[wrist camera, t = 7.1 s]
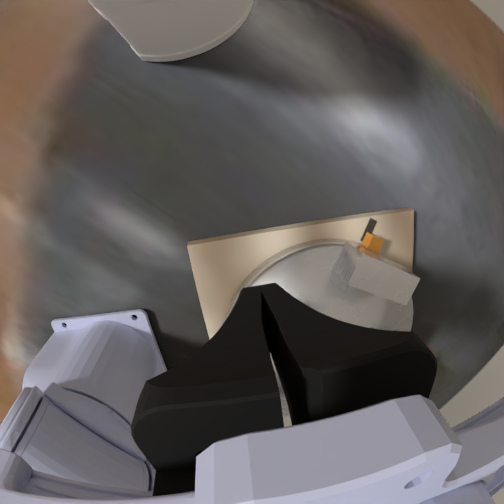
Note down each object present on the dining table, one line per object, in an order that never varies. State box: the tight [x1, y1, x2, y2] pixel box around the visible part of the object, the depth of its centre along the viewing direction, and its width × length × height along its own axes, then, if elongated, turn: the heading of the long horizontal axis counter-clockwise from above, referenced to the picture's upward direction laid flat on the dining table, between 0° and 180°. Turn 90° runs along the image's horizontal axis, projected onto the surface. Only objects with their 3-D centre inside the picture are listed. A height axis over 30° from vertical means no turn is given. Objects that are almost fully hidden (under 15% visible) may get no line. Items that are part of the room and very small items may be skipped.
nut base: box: [187, 207, 414, 339], centre depth 23 cm, size 17×17×1 cm
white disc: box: [224, 232, 420, 427], centre depth 21 cm, size 16×15×4 cm
